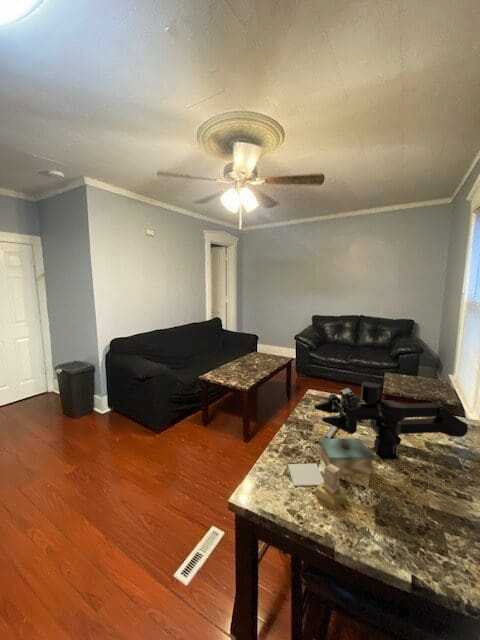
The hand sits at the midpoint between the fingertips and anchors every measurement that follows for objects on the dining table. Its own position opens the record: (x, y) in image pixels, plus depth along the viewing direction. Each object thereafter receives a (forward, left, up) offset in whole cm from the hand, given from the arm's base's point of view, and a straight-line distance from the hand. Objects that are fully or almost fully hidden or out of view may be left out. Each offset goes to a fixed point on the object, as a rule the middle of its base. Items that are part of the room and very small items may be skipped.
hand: (318, 413), depth 99 cm
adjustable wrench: (-13, -20, -17) cm, 30 cm away
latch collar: (+2, +20, -17) cm, 26 cm away
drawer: (-8, +5, -17) cm, 19 cm away
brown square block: (+2, +20, -17) cm, 26 cm away
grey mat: (+7, +10, -17) cm, 20 cm away
